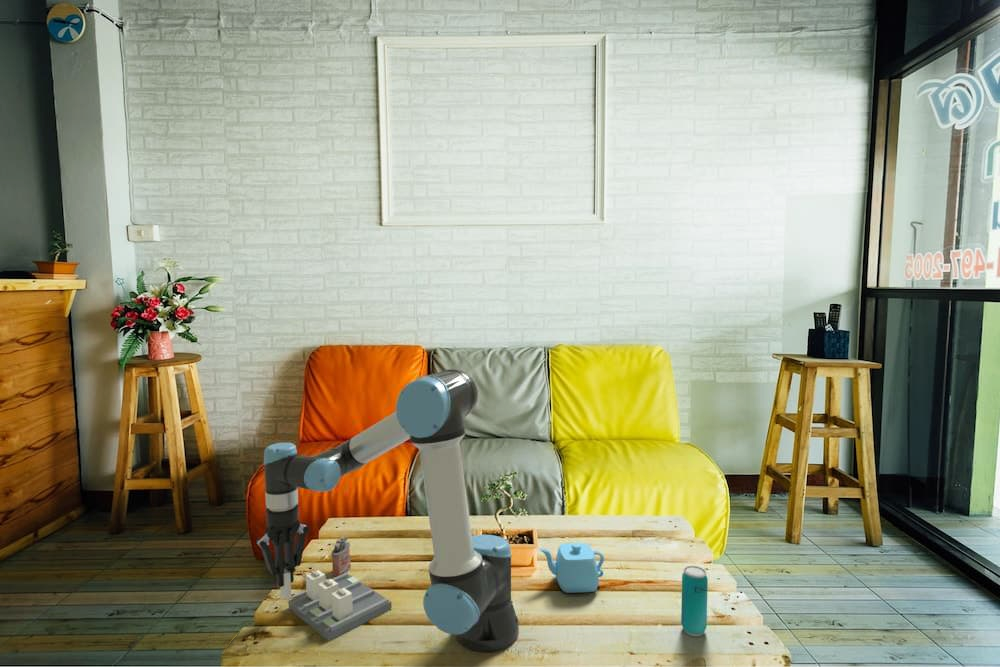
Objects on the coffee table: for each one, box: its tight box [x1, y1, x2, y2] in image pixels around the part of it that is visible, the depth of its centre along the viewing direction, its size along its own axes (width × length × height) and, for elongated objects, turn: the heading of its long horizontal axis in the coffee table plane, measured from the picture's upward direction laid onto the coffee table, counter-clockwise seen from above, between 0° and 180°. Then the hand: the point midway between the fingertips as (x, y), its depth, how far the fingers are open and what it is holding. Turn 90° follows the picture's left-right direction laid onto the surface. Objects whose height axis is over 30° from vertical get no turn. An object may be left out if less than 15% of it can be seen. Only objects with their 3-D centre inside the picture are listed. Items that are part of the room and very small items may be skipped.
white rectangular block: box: [318, 578, 339, 611], centre depth 144 cm, size 4×4×6 cm
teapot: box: [538, 542, 605, 594], centre depth 157 cm, size 12×18×12 cm
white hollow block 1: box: [305, 569, 327, 601], centre depth 149 cm, size 4×4×6 cm
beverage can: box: [680, 565, 709, 638], centre depth 135 cm, size 6×6×15 cm
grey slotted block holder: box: [287, 572, 393, 642], centre depth 147 cm, size 20×18×3 cm
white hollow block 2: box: [331, 588, 353, 621], centre depth 140 cm, size 4×4×6 cm
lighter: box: [330, 535, 352, 579], centre depth 165 cm, size 8×3×10 cm, turn 168°
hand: (285, 596), depth 143 cm, fingers closed
